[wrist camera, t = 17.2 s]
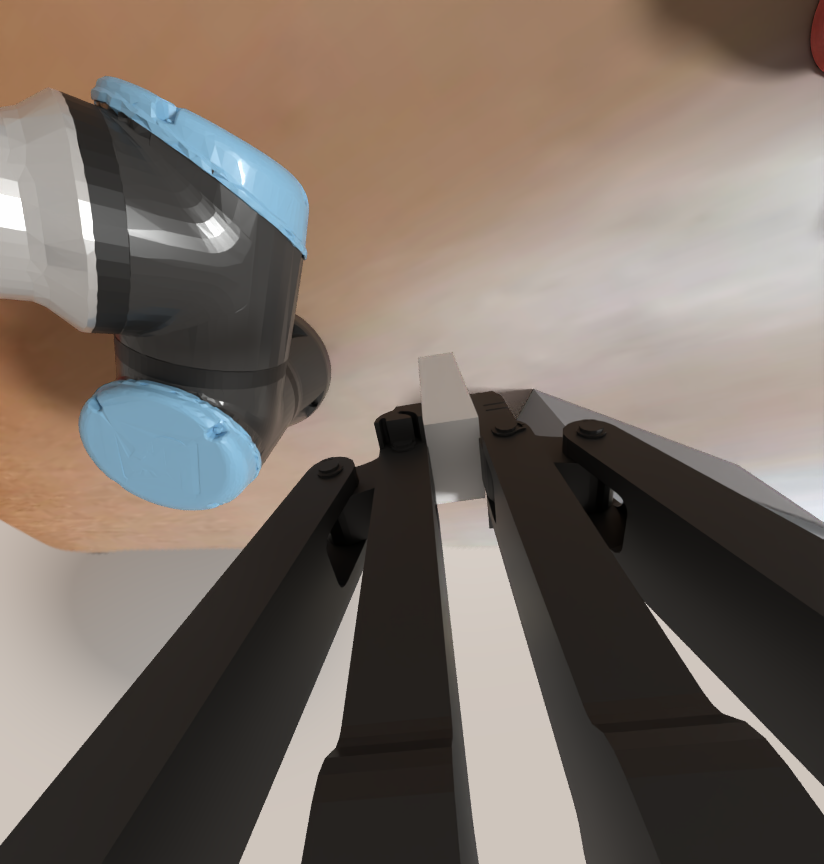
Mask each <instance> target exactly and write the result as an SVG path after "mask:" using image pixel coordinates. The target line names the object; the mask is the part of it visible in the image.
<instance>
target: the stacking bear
mask: <svg viewBox="0 0 824 864" xmlns="http://www.w3.org/2000/svg"><path fill="white" fill-rule="evenodd" d="M811 50H812V55H813V58H814V60H815V62H816V64H817V66H818V67H819V68H820V69H821V70H822V71H823V72H824V0H820V1H819V4H818V6H817V9H816V12H815V15H814V19H813V24H812V30H811Z"/></svg>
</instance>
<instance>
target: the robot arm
mask: <svg viewBox="0 0 824 864" xmlns="http://www.w3.org/2000/svg"><path fill="white" fill-rule="evenodd" d="M91 98H92V100H94V104H95V105H93V104H91V103H88V102H86V101H83V100H81V99H78V98H75V97H73V96H70V95H68V94H65V93H63V92H60V91H58V90H55V89H52V88H49V87H47V88H45V89H43V90H42V91H40V92H38V93H36V94H34V95H32V96H30V97H29V98H27V99H25V100H23V101H21V102H19V103H18V104H16V105H12V106H5V107H0V299H10V300H22V301H33V302H35V303H38V304H40V305H43V306H45V307H47V308H48V309H50V310H51V311H52V312H54V313H55V314H57V315H58V316H59V317H61V318H62V319H64V320H65V321H66V322H68V323H69V324H70V325H72V326H73V327H75V328H76V329H77V330H79V331H80V332H86V333H105V334H114V344H115V359H116V376H117V377H116V381H113V382H111V383H108V384H105V385H103V386H101V387H100V388H98V389H97V390H96V392H95V393H94V394H93V396H92V397H91V398H90V399H89V400H88V401H87V402H86V403H85V404H84V406H83V408H82V410H81V413H80V417H79V432H80V437H81V440H82V442H83V445H84V447H85V449H86V451H87V453H88V454H89V456H90V457H91V459H92V460H93V461H94V463H95V464H96V465H97V466H98V468H99V469H100V470H102V471H103V472H104V473H105V474H106V475H107V476H108V477H109V478H110V479H112V480H114V481H115V482H117V483H118V484H120V485H121V486H122V487H123V488H124V489H125V490H127V491H128V492H130V493H132V494H134V495H136V496H138V497H140V498H142V499H144V500H147V501H149V502H152V503H154V504H157V505H161V506H164V507H169V508H173V509H180V510H205V509H211V508H215V507H218V506H219V505H223V504H224V503H228V502H230V501H232V500H233V499H235V498H236V497H237V496H238V495H239V494H240V493H241V492H242V491H243V490H244V489H245V488H246V487H247V486H248V484H250V483H251V482H252V481H253V480H254V479H255V478H256V477H257V476H258V474H259V471H260V469H261V467H262V465H263V464H264V462H265V461H266V459H267V458H268V456H269V455H270V453H271V451H272V450H273V448H274V447H275V445H276V444H277V442H278V441H279V439H280V438H281V436H282V435H283V433H284V432H285V430H286V429H287V427H289V426H291V425H294V424H296V423H299V422H301V421H303V420H304V419H306V418H307V417H309V416H310V415H311V414H312V413H313V412H315V410H316V409H317V408H318V407H319V406H320V404H321V402H322V401H323V399H324V397H325V395H326V393H327V391H328V388H329V385H330V380H331V365H330V360H329V356H328V353H327V350H326V348H325V346H324V344H323V342H322V340H321V338H320V337H319V335H318V334H317V333H316V332H315V330H314V329H313V328H312V327H311V326H310V325H309V324H308V323H307V322H306V321H304V320H303V319H302V318H300V317H299V316H297V315H296V314H295V312H296V306H297V299H298V292H299V286H300V279H301V272H302V266H303V260H306V258H307V250H306V248H305V243H306V234H307V225H308V215H309V204H308V199H307V196H306V193H305V191H304V189H303V187H302V186H301V184H300V183H299V182H298V181H297V179H296V178H295V177H294V176H293V175H292V174H291V173H290V172H289V171H288V170H286V169H285V168H284V167H283V166H281V165H280V164H279V163H277V162H276V161H274V160H273V159H272V158H270V157H269V156H267V155H266V154H264V153H263V152H261V151H259V150H258V149H256V148H255V147H253V146H252V145H250V144H248V143H247V142H245V141H243V140H242V139H240V138H238V137H237V136H235V135H233V134H231V133H230V132H228V131H226V130H224V129H223V128H221V127H219V126H217V125H215V124H214V123H212V122H210V121H208V120H206V119H205V118H203V117H201V116H199V115H197V114H195V113H193V112H191V111H189V110H187V109H183V108H177V107H176V106H175V105H174V104H172V103H171V102H169V101H167V100H164V99H162V98H160V97H159V96H157V95H155V94H154V93H152V92H150V91H148V90H146V89H144V88H142V87H139V86H137V85H135V84H132V83H130V82H127V81H124V80H121V79H118V78H115V77H109V76H104V77H102V78H100V79H98V80H97V83H96V86H95V88H93V89H92V90H91ZM418 363H419V377H420V390H421V403H418V404H411V405H405V406H398V407H396V408H395V409H394V410H393V411H390V412H388V413H385V414H383V415H381V416H380V417H378V418H377V419H376V421H375V422H374V425H375V430H376V434H377V438H378V442H379V446H380V454H379V457H378V458H377V459H375V460H373V461H371V462H369V463H366V464H364V465H361V466H358V467H355V465H354V462H353V460H351V459H349V458H347V457H331V458H328V459H324V460H322V461H321V462H319V463H317V464H315V465H314V466H312V467H311V468H310V469H309V470H308V471H307V472H306V474H305V475H304V476H303V477H302V478H301V480H300V481H299V482H298V483H297V485H296V486H295V487H294V488H293V489H292V491H291V492H290V493H289V494H288V496H287V497H286V498H285V499H284V500H283V502H282V503H281V504H280V505H279V507H278V508H277V509H276V510H275V511H274V513H273V514H272V515H271V516H270V517H269V519H268V520H267V521H266V522H265V524H264V525H263V526H262V527H261V528H260V530H259V531H258V532H257V533H256V535H255V536H254V537H253V538H252V539H251V541H250V542H249V543H248V544H247V546H246V547H245V548H244V549H243V550H242V552H241V553H240V554H239V555H238V557H237V558H236V559H235V560H234V561H233V563H232V564H231V565H230V566H229V568H228V569H227V570H226V571H225V572H224V574H223V575H222V576H221V577H220V578H219V580H218V581H217V582H216V583H215V585H214V586H213V587H212V588H211V589H210V591H209V592H208V593H207V594H206V596H205V597H204V598H203V599H202V600H201V602H200V603H199V604H198V605H197V607H196V608H195V609H194V610H193V611H192V613H191V614H190V615H189V616H188V618H187V619H186V620H185V621H184V622H183V624H182V625H181V626H180V627H179V628H178V630H177V631H176V632H175V633H174V634H173V636H172V637H171V638H170V639H169V641H168V642H167V643H166V644H165V646H164V647H163V648H162V649H161V650H160V652H159V653H158V654H157V655H156V656H155V658H154V659H153V660H152V661H151V663H150V664H149V665H148V666H147V667H146V669H145V670H144V671H143V672H142V674H141V675H140V676H139V677H138V678H137V680H136V681H135V682H134V683H133V684H132V686H131V687H130V688H129V689H128V691H127V692H126V693H125V694H124V695H123V697H122V698H121V699H120V700H119V702H118V703H117V704H116V705H115V707H114V708H113V709H112V710H111V711H110V712H109V714H108V715H107V716H106V718H105V719H104V720H103V721H102V722H101V724H100V725H99V726H98V727H97V728H96V730H95V731H94V732H93V733H92V735H91V736H90V737H89V738H88V739H87V741H86V742H85V743H84V744H83V745H82V747H81V748H80V749H79V750H78V751H77V753H76V754H75V755H74V756H73V758H72V759H71V760H70V761H69V763H68V764H67V765H66V766H65V767H64V769H63V770H62V771H61V772H60V773H59V775H58V776H57V777H56V778H55V780H54V781H53V782H52V783H51V784H50V786H49V787H48V788H47V789H46V790H45V792H44V793H43V794H42V795H41V797H40V798H39V799H38V800H37V801H36V803H35V804H34V805H33V806H32V808H31V809H30V810H29V811H28V813H27V814H26V815H25V816H24V817H23V819H22V820H21V821H20V822H19V823H18V825H17V826H16V827H15V828H14V829H13V831H12V832H11V833H10V834H9V836H8V837H7V838H6V839H5V840H4V842H3V843H2V844H1V845H0V864H239V862H240V859H241V857H242V855H243V852H244V850H245V847H246V845H247V843H248V840H249V838H250V836H251V833H252V831H253V829H254V826H255V824H256V822H257V819H258V817H259V814H260V812H261V810H262V807H263V805H264V803H265V800H266V798H267V796H268V793H269V791H270V789H271V786H272V784H273V781H274V779H275V777H276V774H277V772H278V769H279V767H280V765H281V762H282V760H283V758H284V755H285V753H286V751H287V748H288V746H289V744H290V741H291V739H292V737H293V734H294V732H295V729H296V727H297V725H298V722H299V720H300V718H301V715H302V713H303V710H304V708H305V706H306V703H307V701H308V699H309V696H310V694H311V692H312V689H313V687H314V685H315V682H316V680H317V678H318V675H319V673H320V670H321V668H322V666H323V663H324V661H325V659H326V656H327V654H328V651H329V649H330V647H331V644H332V642H333V640H334V637H335V635H336V632H337V630H338V628H339V625H340V623H341V621H342V618H343V616H344V614H345V611H346V609H347V607H348V604H349V602H350V600H351V597H352V595H353V592H354V590H355V588H356V585H357V583H358V581H359V578H360V576H361V573H362V571H363V576H362V583H361V590H360V598H359V605H358V612H357V619H356V627H355V633H354V641H353V648H352V655H351V662H350V669H349V676H348V684H347V691H346V698H345V705H344V712H343V720H342V727H341V732H340V737H339V740H338V743H337V746H336V748H335V749H334V750H333V751H332V752H331V753H330V754H329V755H328V756H327V757H326V758H325V760H324V762H323V764H322V767H321V770H320V772H319V775H318V779H317V782H316V787H315V791H314V795H313V800H312V804H311V810H310V816H309V822H308V827H307V833H306V839H305V845H304V851H303V856H302V862H301V864H479V863H478V856H477V849H476V841H475V834H474V827H473V819H472V811H471V801H470V792H469V783H468V774H467V765H466V757H465V747H464V738H463V730H462V721H461V712H460V702H459V693H458V684H457V677H456V676H457V675H456V668H455V658H454V649H453V640H452V631H451V622H450V613H449V604H448V595H447V586H446V578H445V568H444V559H443V550H442V541H441V532H440V523H439V514H438V508H437V504H442V503H449V502H457V501H464V500H472V499H479V498H485V490H486V493H487V504H488V516H489V528H494V531H495V535H496V538H497V541H498V545H499V548H500V552H501V555H502V559H503V562H504V565H505V569H506V572H507V576H508V579H509V582H510V586H511V589H512V593H513V596H514V600H515V603H516V606H517V610H518V613H519V617H520V620H521V624H522V627H523V630H524V634H525V637H526V640H527V644H528V648H529V651H530V654H531V658H532V661H533V665H534V668H535V672H536V675H537V678H538V682H539V685H540V688H541V692H542V695H543V699H544V702H545V706H546V709H547V713H548V716H549V719H550V723H551V726H552V729H553V733H554V737H555V740H556V743H557V747H558V750H559V754H560V757H561V761H562V764H563V767H564V771H565V774H566V778H567V781H568V784H569V788H570V791H571V795H572V798H573V802H574V806H575V809H576V813H577V818H578V822H579V827H580V833H581V838H582V844H583V850H584V855H585V860H586V864H824V815H823V813H822V812H821V811H820V809H819V808H818V806H817V805H816V804H815V802H814V801H813V800H812V798H811V797H810V795H809V794H808V793H807V791H806V790H805V788H804V787H803V786H802V784H801V783H800V781H799V780H798V779H797V778H796V776H795V775H794V773H793V772H792V770H791V769H790V768H789V766H788V765H787V764H786V763H785V761H784V760H783V759H782V758H781V757H780V755H778V753H777V752H776V751H775V749H774V748H773V747H772V746H771V745H770V743H769V742H768V741H767V740H766V739H765V738H764V737H763V736H762V735H761V734H760V733H758V732H757V731H756V730H755V729H754V728H752V727H751V726H750V725H749V724H748V723H746V722H745V721H742V720H739V719H736V718H734V717H730V716H728V715H725V714H723V713H721V712H720V711H719V710H718V709H717V708H716V707H714V706H713V704H712V703H711V702H710V701H709V699H708V698H707V697H706V695H705V694H704V693H703V691H702V690H701V688H700V687H699V685H698V684H697V682H696V680H695V679H694V677H693V676H692V674H691V673H690V672H689V670H688V668H687V667H686V665H685V664H684V662H683V661H682V659H681V658H680V656H679V654H678V653H677V651H676V650H675V648H674V647H673V645H672V644H671V642H670V641H669V639H668V638H667V636H666V635H665V633H664V631H663V630H662V629H661V627H660V625H659V624H658V622H657V621H656V619H655V618H654V616H653V615H652V613H651V612H650V610H649V608H648V607H647V605H648V606H649V607H650V608H651V609H652V610H653V611H654V612H655V613H656V614H657V615H658V616H659V617H660V618H661V619H662V620H663V621H664V622H665V623H666V624H667V625H668V626H669V627H670V628H671V630H672V631H673V632H674V633H675V634H676V635H677V636H678V637H679V638H680V639H681V640H682V641H683V642H684V643H685V644H686V645H687V646H688V647H689V648H690V649H691V650H692V651H693V652H694V653H695V654H696V655H697V656H698V657H699V658H700V659H701V660H702V661H703V662H704V663H705V664H706V666H707V667H709V669H710V670H711V671H712V672H713V673H714V674H715V675H716V676H717V677H718V678H719V679H720V680H721V681H722V682H723V683H724V684H725V685H726V686H727V687H728V688H729V689H730V690H731V691H732V692H733V693H734V694H735V695H736V696H737V697H738V698H739V700H740V701H741V702H742V703H743V704H744V705H745V706H746V707H747V708H748V709H749V710H750V711H751V712H752V713H753V714H754V715H755V716H756V717H757V718H758V719H759V720H760V721H761V722H762V723H763V724H764V725H765V726H766V727H767V728H768V729H769V730H770V731H771V732H772V733H773V734H774V736H776V738H777V739H779V741H780V742H781V743H782V744H783V745H784V746H785V747H786V748H787V749H788V750H789V751H790V752H791V753H792V754H793V755H794V756H795V757H796V758H797V759H798V760H799V761H800V762H801V763H802V764H803V765H804V766H805V767H806V768H807V770H808V771H810V773H811V774H812V775H814V777H815V778H816V779H817V780H818V781H819V782H820V783H821V784H822V785H823V786H824V539H822V538H820V537H818V536H816V535H815V534H813V533H811V532H809V531H807V530H805V529H804V528H802V527H800V526H798V525H796V524H794V523H793V522H791V521H789V520H787V519H785V518H783V517H782V516H780V515H778V514H776V513H774V512H772V511H771V510H769V509H767V508H765V507H763V506H761V505H759V504H758V503H756V502H754V501H752V500H750V499H748V498H747V497H745V496H743V495H741V494H739V493H737V492H736V491H734V490H732V489H730V488H728V487H726V486H725V485H723V484H721V483H719V482H717V481H715V480H714V479H712V478H710V477H708V476H706V475H704V474H703V473H701V472H699V471H697V470H695V469H693V468H692V467H690V466H688V465H686V464H684V463H682V462H681V461H679V460H677V459H675V458H673V457H671V456H670V455H668V454H666V453H664V452H662V451H660V450H659V449H657V448H655V447H653V446H651V445H649V444H648V443H646V442H644V441H642V440H640V439H638V438H637V437H635V436H633V435H631V434H629V433H627V432H626V431H624V430H622V429H620V428H618V427H616V426H614V425H612V424H610V423H607V422H604V421H598V420H595V419H589V420H588V419H583V420H579V421H574V422H571V423H569V424H567V425H566V426H565V427H564V428H563V437H549V436H538V435H535V434H534V432H533V431H532V429H531V428H530V427H529V426H528V425H527V424H526V423H524V422H521V421H518V420H516V419H515V418H514V416H513V414H512V413H511V411H510V410H509V408H508V406H507V405H506V403H505V401H504V400H503V398H502V396H501V395H499V394H497V393H495V392H493V391H489V392H483V393H476V394H470V395H469V392H468V390H467V387H466V385H465V382H464V380H463V377H462V375H461V372H460V370H459V367H458V365H457V362H456V360H455V357H454V355H453V352H451V353H445V354H438V355H432V356H426V357H420V358H418ZM484 487H485V488H484ZM614 491H615V492H616V493H617V494H618V495H619V496H620V497H621V498H622V500H623V503H620V502H618V501H617V500H616V499H615V498H613V495H614ZM645 603H646V604H647V605H646V604H645Z"/></svg>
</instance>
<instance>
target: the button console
mask: <svg viewBox="0 0 824 864" xmlns="http://www.w3.org/2000/svg"><path fill="white" fill-rule="evenodd" d="M583 419H588V420H589V419H595V420H598V421H604V422H607V423H610V424H612V425H614V426H616V427H618V428H620V429H622V430H624V431H626V432H627V433H629V434H631V435H633V436H635V437H637V438H638V439H640V440H642V441H644V442H646V443H648V444H649V445H651V446H653V447H655V448H657V449H659V450H660V451H662V452H664V453H666V454H668V455H670V456H671V457H673V458H675V459H677V460H679V461H681V462H682V463H684V464H686V465H688V466H690V467H692V468H693V469H695V470H697V471H699V472H701V473H703V474H704V475H706V476H708V477H710V478H712V479H714V480H715V481H717V482H719V483H721V484H723V485H725V486H726V487H728V488H730V489H732V490H734V491H736V492H737V493H739V494H741V495H743V496H745V497H747V498H748V499H750V500H752V501H754V502H756V503H758V504H759V505H761V506H763V507H765V508H767V509H769V510H771V511H772V512H774V513H776V514H778V515H780V516H782V517H783V518H785V519H787V520H789V521H791V522H793V523H794V524H796V525H798V526H800V527H802V528H804V529H805V530H807V531H809V532H811V533H813V534H815V535H816V536H818V537H820V538H822V539H824V522H822V521H821V520H819V519H818V518H816V517H815V516H813V515H812V514H810V513H809V512H807V511H806V510H804V509H803V508H801V507H800V506H798V505H797V504H795V503H794V502H792V501H791V500H789V499H788V498H786V497H785V496H784V495H782V494H781V493H779V492H778V491H776V490H775V489H773V488H772V487H770V486H769V485H767V484H766V483H764V482H763V481H761V480H760V479H758V478H757V477H755V476H754V475H752V474H751V473H749V472H748V471H746V470H745V469H743V468H742V467H740V466H739V465H736V464H734V463H731V462H728V461H726V460H723V459H720V458H718V457H715V456H712V455H710V454H707V453H704V452H702V451H699V450H696V449H693V448H691V447H688V446H685V445H683V444H680V443H677V442H675V441H672V440H669V439H667V438H664V437H661V436H659V435H656V434H653V433H650V432H648V431H645V430H642V429H640V428H637V427H634V426H632V425H629V424H626V423H624V422H621V421H618V420H616V419H613V418H610V417H607V416H605V415H602V414H599V413H597V412H594V411H591V410H589V409H586V408H583V407H581V406H578V405H575V404H573V403H570V402H567V401H564V400H562V399H559V398H556V397H554V396H551V395H548V394H546V393H543V392H540V391H538V390H535V389H533V391H532V393H531V395H530V396H529V398H528V400H527V402H526V403H525V405H524V407H523V409H522V411H521V412H520V414H519V416H518V418H517V420H518V421H521V422H524V423H526V424H527V425H528V426H529V427H530V428H531V429H532V431H533V432H534V434H535V435H538V436H549V437H563V428H564V427H565V426H566V425H567V424H569V423H571V422H574V421H579V420H583ZM613 498H615V499H616V500H617V501H618V502H620V503H623V500H622V498H621V497H620V496H619V495H618V494H617V493H616V492H615V491H614V495H613Z"/></svg>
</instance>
